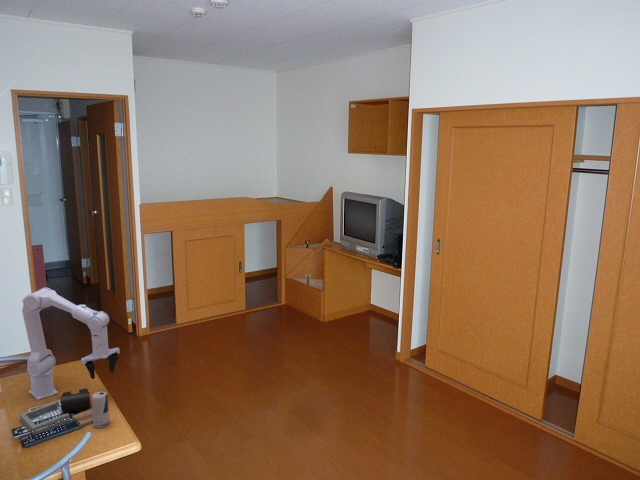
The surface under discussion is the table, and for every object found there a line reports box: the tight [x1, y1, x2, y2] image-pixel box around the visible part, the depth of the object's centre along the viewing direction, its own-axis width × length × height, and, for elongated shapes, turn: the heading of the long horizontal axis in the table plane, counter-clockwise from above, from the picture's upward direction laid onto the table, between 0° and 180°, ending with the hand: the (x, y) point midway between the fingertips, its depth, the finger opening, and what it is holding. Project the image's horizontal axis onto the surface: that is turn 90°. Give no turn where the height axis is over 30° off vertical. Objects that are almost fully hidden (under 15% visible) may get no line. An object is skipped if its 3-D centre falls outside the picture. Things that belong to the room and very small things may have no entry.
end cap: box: [59, 388, 91, 414], centre depth 191 cm, size 10×7×7 cm
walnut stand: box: [71, 408, 93, 428], centre depth 185 cm, size 8×8×1 cm
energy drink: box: [91, 390, 110, 429], centre depth 181 cm, size 5×5×12 cm
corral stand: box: [19, 401, 71, 435], centre depth 183 cm, size 13×12×2 cm
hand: (102, 374), depth 198 cm, fingers open, 7 cm apart
